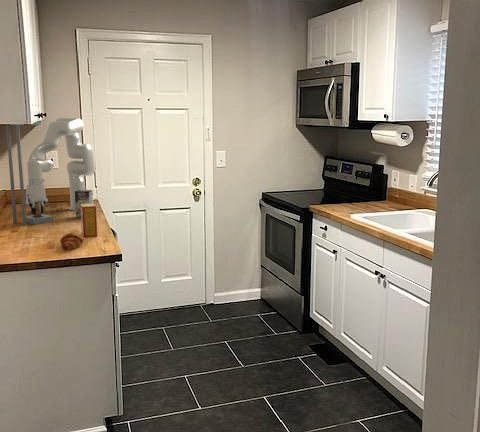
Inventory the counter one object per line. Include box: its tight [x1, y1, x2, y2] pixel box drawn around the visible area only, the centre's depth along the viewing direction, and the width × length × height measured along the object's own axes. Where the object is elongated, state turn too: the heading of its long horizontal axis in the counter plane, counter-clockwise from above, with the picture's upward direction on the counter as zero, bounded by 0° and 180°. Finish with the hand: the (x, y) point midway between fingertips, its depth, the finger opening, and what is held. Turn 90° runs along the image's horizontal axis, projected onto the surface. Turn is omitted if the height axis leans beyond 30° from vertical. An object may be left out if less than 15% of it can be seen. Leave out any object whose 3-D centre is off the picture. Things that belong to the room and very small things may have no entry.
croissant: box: [59, 232, 84, 251], centre depth 246 cm, size 21×10×8 cm, turn 6°
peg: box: [33, 202, 42, 218], centre depth 302 cm, size 4×4×10 cm
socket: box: [26, 213, 54, 225], centre depth 303 cm, size 12×12×3 cm
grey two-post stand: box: [5, 120, 41, 227], centre depth 295 cm, size 14×12×57 cm
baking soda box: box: [80, 202, 98, 239], centre depth 268 cm, size 10×6×16 cm
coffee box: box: [75, 189, 94, 219], centre depth 317 cm, size 9×6×16 cm
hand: (37, 213), depth 303 cm, fingers closed on peg, 4 cm apart
